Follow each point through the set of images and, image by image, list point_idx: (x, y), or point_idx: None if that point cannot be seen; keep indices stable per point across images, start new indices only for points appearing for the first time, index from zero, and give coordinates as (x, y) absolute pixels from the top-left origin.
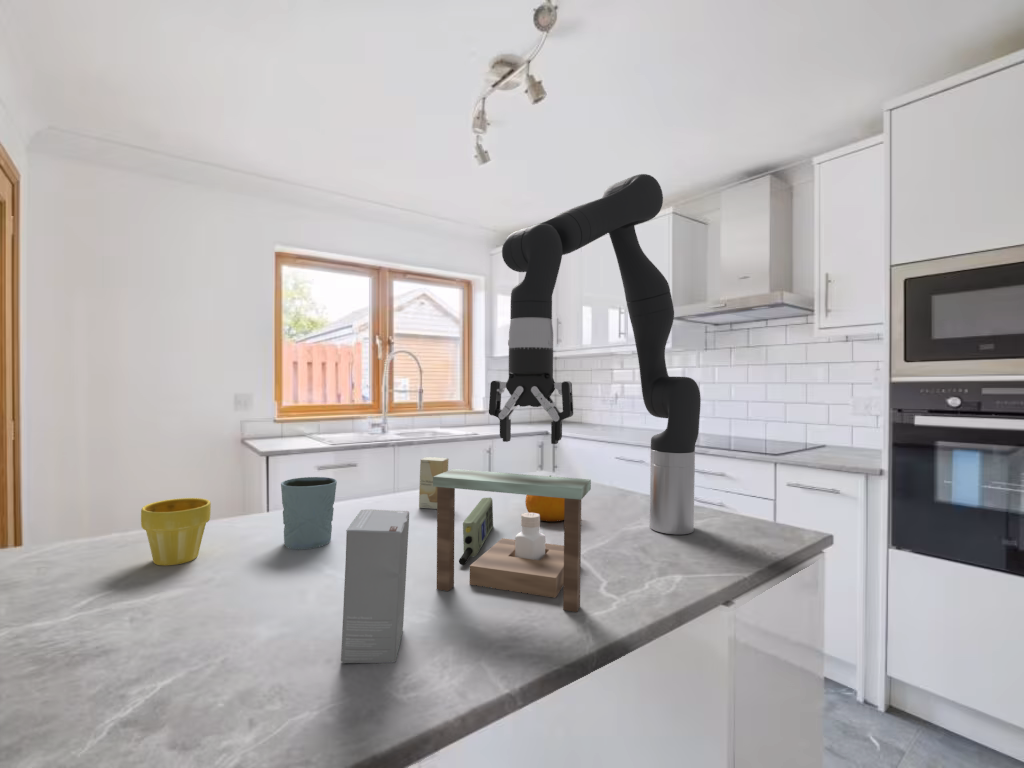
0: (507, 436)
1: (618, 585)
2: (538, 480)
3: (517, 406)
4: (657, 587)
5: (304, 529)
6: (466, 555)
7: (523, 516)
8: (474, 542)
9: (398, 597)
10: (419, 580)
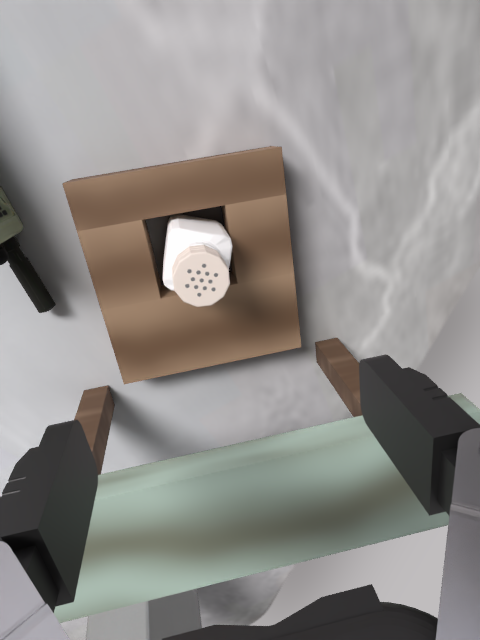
0: (89, 483)
1: (381, 220)
2: (335, 505)
3: (62, 628)
4: (451, 189)
5: None
6: (38, 290)
7: (190, 303)
8: (8, 237)
9: (201, 627)
10: (31, 398)
